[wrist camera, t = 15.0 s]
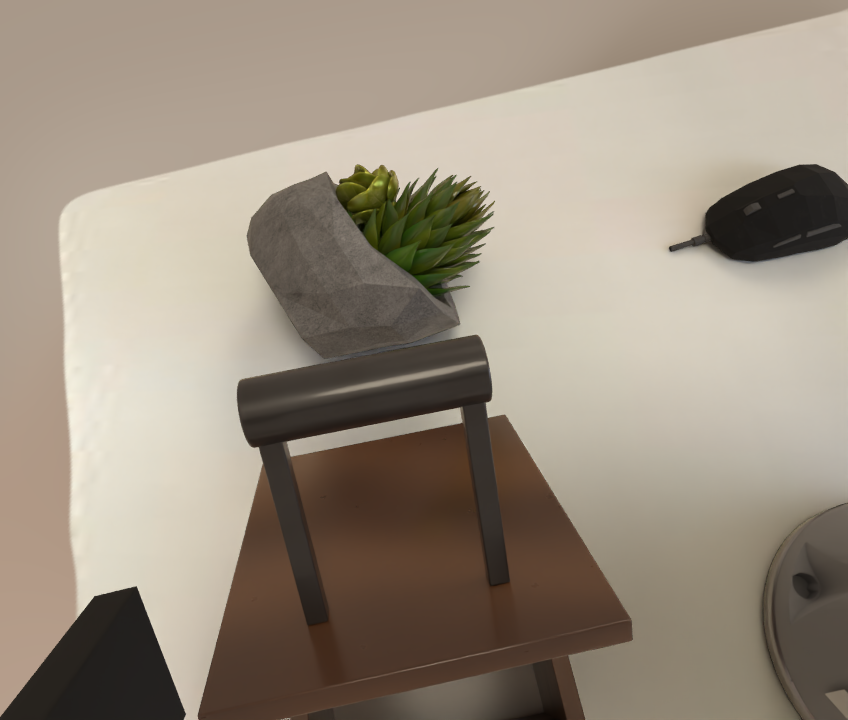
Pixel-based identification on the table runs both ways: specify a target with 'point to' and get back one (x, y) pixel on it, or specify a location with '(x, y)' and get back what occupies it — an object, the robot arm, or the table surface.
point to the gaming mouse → (779, 215)
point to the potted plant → (367, 257)
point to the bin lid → (396, 544)
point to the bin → (477, 698)
